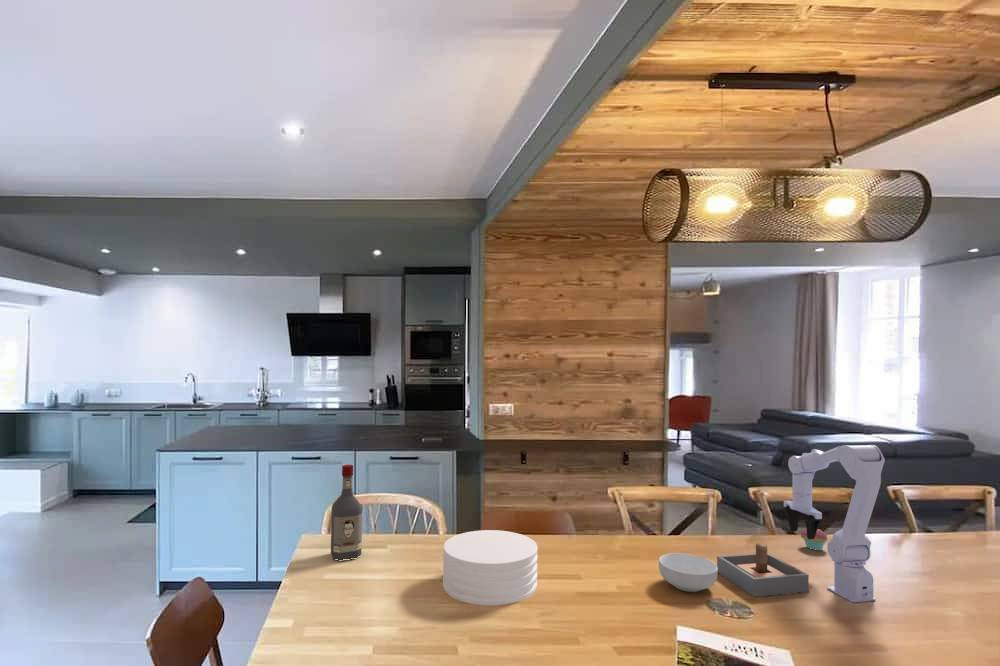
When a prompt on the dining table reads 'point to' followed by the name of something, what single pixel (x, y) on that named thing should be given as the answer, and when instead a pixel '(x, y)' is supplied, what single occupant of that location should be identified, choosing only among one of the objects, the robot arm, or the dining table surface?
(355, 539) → the liquor
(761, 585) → the box
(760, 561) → the peg
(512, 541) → the plate stack
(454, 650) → the dining table surface
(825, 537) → the cupcake
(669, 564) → the cereal bowl
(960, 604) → the dining table surface
